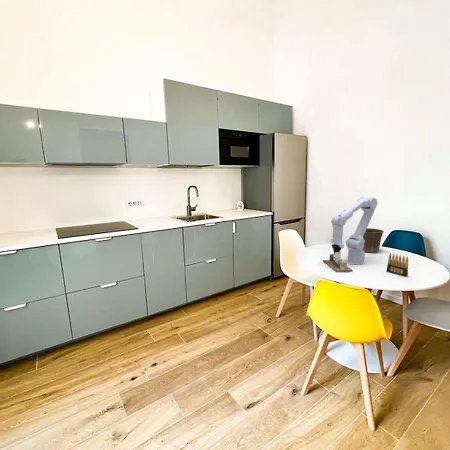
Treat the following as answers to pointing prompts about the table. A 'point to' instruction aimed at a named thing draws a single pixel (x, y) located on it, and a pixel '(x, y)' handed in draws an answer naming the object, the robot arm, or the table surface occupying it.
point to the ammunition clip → (397, 265)
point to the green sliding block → (338, 257)
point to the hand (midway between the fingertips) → (336, 255)
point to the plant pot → (372, 240)
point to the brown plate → (337, 265)
